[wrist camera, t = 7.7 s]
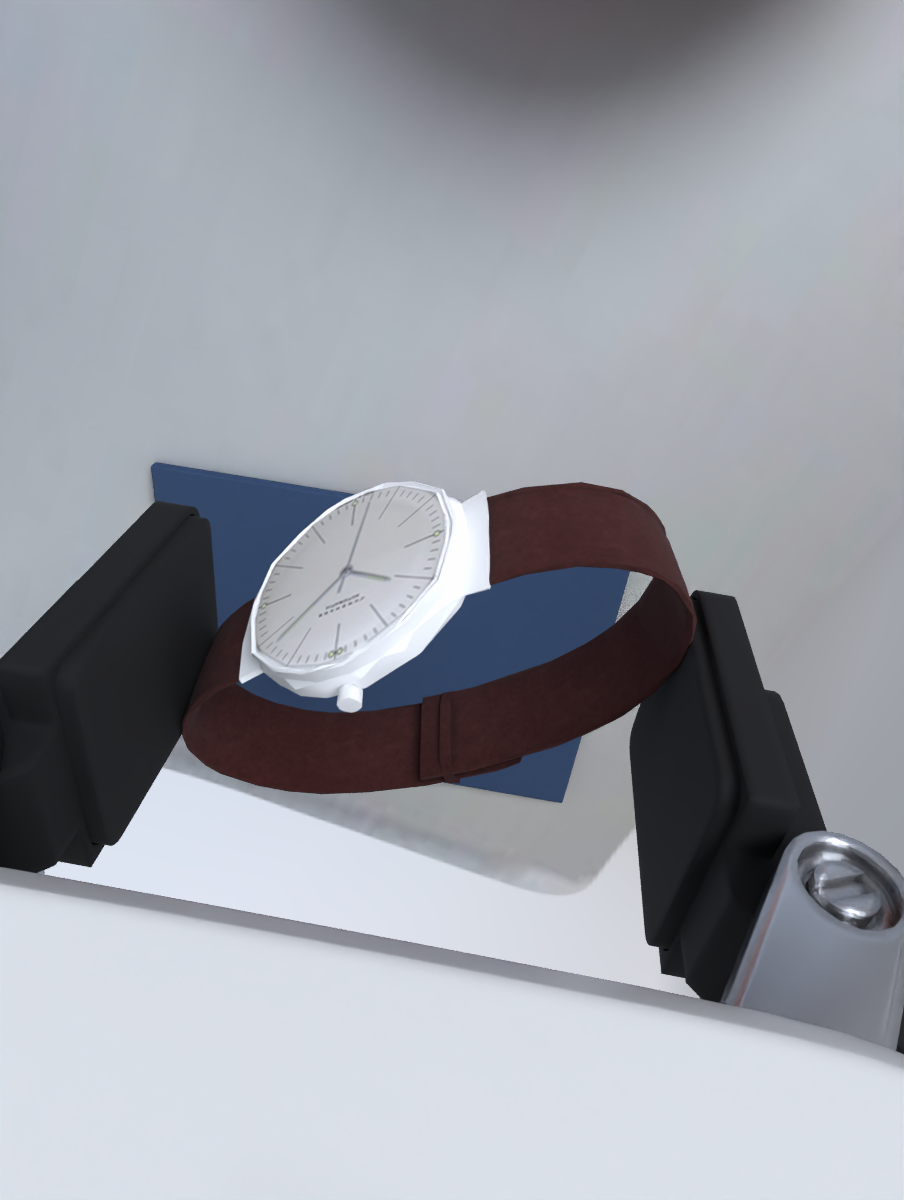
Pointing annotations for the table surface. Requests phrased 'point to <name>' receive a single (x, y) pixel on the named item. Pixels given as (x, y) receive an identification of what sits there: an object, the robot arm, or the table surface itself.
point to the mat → (454, 656)
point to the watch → (429, 638)
